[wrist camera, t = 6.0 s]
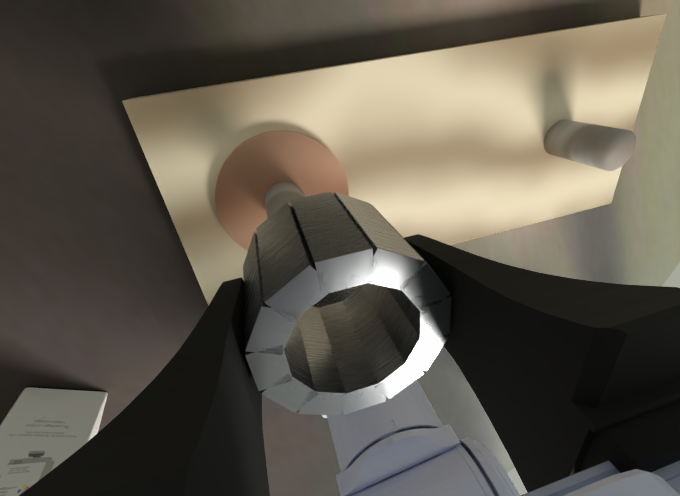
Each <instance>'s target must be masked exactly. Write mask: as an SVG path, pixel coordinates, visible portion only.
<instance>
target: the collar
mask: <svg viewBox="0 0 680 496" xmlns="http://www.w3.org/2000/svg"><path fill="white" fill-rule="evenodd" d="M291 204H292V206H291V205H290V204H289V203H288V202H286V203H285V204H284V205H283V206H282V207H280V208H279V209H278V210H277V211H276V212H275V213H273V214H272V215H271V216H270V217H269V218H268V219H266V220H265V221H264V222H263V223H262V224H261V225H259V226H258V227H257V228H256V230H257V232H256V231H254V234H253V237H252V240H251V243H250V246H249V249H248V252H247V255H246V258H245V261H244V264H243V282H244V328H245V356H246V359H247V361H248V364H249V367H250V369H251V372H252V375H253V377H254V380H255V383H256V385H257V388H258V391H261V394H262V395H264V396H266V397H268V398H269V399H271V400H273V401H275V402H276V403H278V404H280V405H282V406H283V407H285V408H287V409H289V410H290V411H292V412H294V413H295V412H296V411H298V414H314V415H341V413H342V411H343V413H344V415H345V414H348V413H351V412H355V411H358V410H361V409H364V408H367V407H370V406H373V405H376V404H379V403H382V402H385V401H386V397H387V398H388V399H391V398H392V397H393V396H395V395H396V394H398V393H399V392H400V391H402V390H403V389H404V388H406V387H407V386H408V385H410V384H411V383H412V382H414V381H415V380H416V379H418V378H419V377H421V376H422V375H423V374H424V372H423V371H427V370H428V368H429V367H430V365H431V364H432V362H433V361H434V359H435V357H436V356H437V354H438V353H439V351H440V350H441V348H442V346H443V345H444V343H445V342H446V340H447V339H448V336H447V334H450V318H451V299H452V297H451V296H450V294H451V293H450V292H449V291H448V289H447V288H446V287H445V285H444V284H443V283H442V281H441V280H440V279H439V277H438V276H437V275H436V273H435V272H434V271H433V269H432V268H431V267H430V265H429V264H428V263H427V262H426V261H425V260H424V259H423V258H422V256H421V255H420V254H419V253H418V252H417V251H416V250H415V249H414V248H413V247H412V246H411V245H410V244H409V243H408V242H407V241H406V240H405V239H404V238H403V237H402V236H401V234H400V233H399V232H398V231H397V230H396V229H395V228H394V227H393V226H392V225H391V224H390V223H389V222H388V221H387V220H386V219H385V218H384V217H383V216H382V215H381V214H380V213H379V211H378V210H377V209H376V208H375V207H374V206H373V205H371V204H370V203H368V202H365V201H362V200H359V199H356V198H353V197H350V196H347V195H344V194H341V193H337V192H334V194H332V192H331V191H330V192H326V193H321V194H316V195H311V196H307V197H302V198H297V199H293V200H291ZM358 285H362V286H361V287H359V288H358V289H357V290H356V291H354V292H353V293H352V294H351V295H349V296H348V297H347V298H346V299H344V300H343V301H341V302H337V303H334V304H330V305H326V306H322V307H319V308H317V307H312V306H314V305H315V304H316V303H317V302H319V301H320V300H321V299H322V298H324V297H325V296H326V295H327V294H328V293H332V292H336V291H339V290H343V289H347V288H351V287H355V286H358ZM422 370H423V371H422Z"/></svg>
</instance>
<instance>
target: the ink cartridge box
mask: <svg viewBox="0 0 680 496" xmlns="http://www.w3.org/2000/svg"><path fill="white" fill-rule="evenodd" d="M107 394H108V393H107V392H99V391H82V390H64V389H49V388H33V387H28V388H25V389H24V390H23V392H22V393H21V394H20V396H19V397H18V399H17V401H16V402H15V404H14V405H13V407H12V408H11V410H10V411H9V413H8V414H7V416H6V417H5V419H4V420H3V422H2V424H1V425H0V496H19V495H20V494H22V493H23V492H24V491H26V490H27V489H28V488H30V487H31V486H32V485H34V484H35V483H36V482H38V481H39V480H40V479H41V478H43V477H44V476H45V475H47V474H48V473H49V472H50V471H52V470H53V469H54V468H56V467H57V466H58V465H59V464H61V463H62V462H63V461H65V460H66V459H67V458H68V457H70V456H71V455H72V454H74V453H75V452H76V451H77V450H78V449H80V448H81V447H82V446H83V445H85V444H86V443H87V442H88V441H89V440H90V439H92V438H93V437H94V436H95V435H96V434H97V433H98V430H99V426H100V422H101V418H102V414H103V410H104V406H105V402H106V399H107Z"/></svg>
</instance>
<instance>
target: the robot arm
mask: <svg viewBox="0 0 680 496" xmlns="http://www.w3.org/2000/svg"><path fill="white" fill-rule="evenodd" d="M404 239H405V240H406V241H407V242H408V243H409V244H410V245H411V246H412V247H413V248H414V249H415V250H416V251H417V252H418V253H419V254H420V255H421V256H422V258H423V259H424V260H425V261H426V262H427V263H428V264H429V265H430V267H431V268H432V269H433V271H434V272H435V273H436V275H437V276H438V277H439V279H440V280H441V281H442V283H443V284H444V285H445V287H446V288H447V289H448V291H449V292H450V293H451V294H450V296H451V297H452V299H451V318H450V334H447V336H448V339H447V340H446V342H445V343H444V347H445V348H446V349H447V351H448V352H449V353H450V355H451V356H452V357H453V359H454V360H455V362H456V363H457V365H458V366H459V368H460V369H461V371H462V372H463V374H464V376H465V377H466V379H467V381H468V382H469V384H470V386H471V387H472V389H473V391H474V392H475V394H476V396H477V398H478V399H479V401H480V403H481V405H482V406H483V408H484V410H485V412H486V414H487V415H488V417H489V419H490V421H491V422H492V424H493V426H494V428H495V430H496V432H497V434H498V435H499V437H500V439H501V441H502V443H503V445H504V447H505V449H506V450H507V452H508V454H509V456H510V458H511V460H512V462H513V464H514V466H515V468H516V470H517V472H518V474H519V476H520V478H521V480H522V482H523V484H524V486H525V488H526V490H527V492H528V493H526V494H524V495H521V496H680V288H677V287H658V286H639V285H622V284H612V283H602V282H593V281H585V280H578V279H571V278H565V277H559V276H553V275H548V274H543V273H538V272H533V271H529V270H525V269H521V268H517V267H513V266H509V265H505V264H502V263H499V262H495V261H492V260H489V259H486V258H483V257H480V256H477V255H474V254H471V253H469V252H466V251H463V250H460V249H458V248H455V247H452V246H450V245H447V244H445V243H442V242H440V241H437V240H434V239H432V238H429V237H426V236H423V235H419V234H417V235H413V236H408V237H404ZM322 417H324V418H328V422H329V426H330V430H331V434H332V438H333V442H334V446H335V450H336V454H337V458H338V462H339V466H340V470H341V473H339V474H337V475H336V479H337V483H338V487H339V492H340V495H338V496H520V495H519V493H518V491H517V489H516V488H515V486H514V484H513V483H512V481H511V479H510V478H509V476H508V475H507V473H506V472H505V470H504V469H503V467H502V466H501V464H500V463H499V461H498V460H497V459H496V458H495V456H494V455H493V454H492V453H491V451H490V450H489V449H488V448H487V447H486V446H484V445H483V444H481V443H479V442H477V441H475V440H474V439H472V438H470V437H465V438H463V439H461V440H458V438H457V436H456V435H455V433H454V431H453V429H452V428H451V426H450V425H449V424H447V425H445V426H443V425H442V423H441V421H440V420H439V418H438V416H437V414H436V412H435V411H434V409H433V407H432V405H431V404H430V402H429V400H428V398H427V397H426V395H425V393H424V391H423V390H422V388H421V386H420V384H419V382H418V381H417V379H416V380H415V381H414V382H412V383H411V384H410V385H408V386H407V387H406V388H404V389H403V390H402V391H400V392H399V393H398V394H396V395H395V396H393V397H392V398H391V399H388V398H387V397H386V401H385V402H382V403H379V404H376V405H373V406H370V407H367V408H364V409H361V410H358V411H355V412H351V413H348V414H345V415H344V413H343V411H342V413H341V415H322ZM19 496H270V494H269V485H268V476H267V468H266V459H265V450H264V440H263V431H262V394H261V391H258V388H257V385H256V383H255V380H254V377H253V375H252V372H251V369H250V367H249V364H248V361H247V359H246V356H245V328H244V282H243V279H242V277H241V278H237V279H233V280H229V281H225V282H222V284H221V285H220V287H219V289H218V290H217V292H216V294H215V296H214V297H213V299H212V301H211V302H210V304H209V306H208V308H207V309H206V311H205V312H204V314H203V316H202V317H201V319H200V320H199V322H198V324H197V325H196V327H195V328H194V330H193V331H192V333H191V334H190V335H189V337H188V338H187V340H186V341H185V342H184V344H183V345H182V347H181V348H180V349H179V351H178V352H177V353H176V354H175V356H174V357H173V358H172V359H171V361H170V362H169V363H168V364H167V365H166V366H165V367H164V369H163V370H162V371H161V372H160V373H159V374H158V376H157V377H156V378H155V379H154V380H153V381H152V382H151V383H150V384H149V385H148V386H147V387H146V388H145V389H144V390H143V391H142V392H141V393H140V394H139V395H138V396H137V397H136V398H135V399H134V400H133V401H132V402H131V403H130V404H129V405H128V406H127V407H126V408H125V409H124V410H123V411H122V412H121V413H120V414H119V415H118V416H117V417H115V418H114V419H113V420H112V421H111V422H110V423H109V424H108V425H107V426H105V427H104V428H103V429H102V430H101V431H100V432H99V433H97V434H96V435H95V436H94V437H93V438H92V439H90V440H89V441H88V442H87V443H86V444H85V445H83V446H82V447H81V448H80V449H78V450H77V451H76V452H75V453H74V454H72V455H71V456H70V457H68V458H67V459H66V460H65V461H63V462H62V463H61V464H59V465H58V466H57V467H56V468H54V469H53V470H52V471H50V472H49V473H48V474H47V475H45V476H44V477H43V478H41V479H40V480H39V481H38V482H36V483H35V484H34V485H32V486H31V487H30V488H28V489H27V490H26V491H24V492H23V493H22V494H20V495H19Z"/></svg>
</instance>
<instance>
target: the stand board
mask: <svg viewBox="0 0 680 496" xmlns="http://www.w3.org/2000/svg"><path fill="white" fill-rule="evenodd" d="M666 15H667V14H660V15H651V16H643V17H636V18H630V19H624V20H618V21H611V22H605V23H599V24H592V25H586V26H580V27H574V28H567V29H561V30H555V31H549V32H542V33H536V34H530V35H524V36H517V37H511V38H505V39H498V40H492V41H486V42H480V43H473V44H467V45H461V46H455V47H448V48H442V49H436V50H430V51H423V52H417V53H411V54H405V55H398V56H392V57H386V58H379V59H373V60H367V61H361V62H354V63H348V64H342V65H336V66H329V67H323V68H317V69H311V70H304V71H298V72H292V73H286V74H279V75H273V76H267V77H260V78H254V79H248V80H242V81H235V82H229V83H223V84H217V85H210V86H204V87H198V88H192V89H185V90H179V91H173V92H167V93H160V94H154V95H148V96H141V97H135V98H130V99H127V100H123V101H122V102H123V105H124V107H125V109H126V112H127V114H128V117H129V119H130V121H131V124H132V126H133V128H134V131H135V133H136V135H137V138H138V140H139V143H140V145H141V147H142V150H143V152H144V154H145V157H146V159H147V162H148V164H149V166H150V169H151V171H152V173H153V176H154V178H155V180H156V183H157V185H158V188H159V190H160V192H161V195H162V197H163V199H164V202H165V204H166V207H167V209H168V211H169V214H170V216H171V218H172V221H173V223H174V225H175V228H176V230H177V233H178V235H179V237H180V240H181V242H182V244H183V247H184V249H185V252H186V254H187V256H188V259H189V261H190V263H191V266H192V268H193V271H194V273H195V275H196V278H197V280H198V282H199V285H200V287H201V289H202V292H203V294H204V297H205V299H206V301H207V304H208V306H209V304H210V302H211V301H212V299H213V297H214V296H215V294H216V292H217V290H218V289H219V287H220V285H221V284H222V282H225V281H229V280H233V279H237V278H241V277H242V279H243V264H244V261H245V258H246V255H247V252H248V249H249V246H250V243H251V240H252V237H253V234H254V231H256V232H257V230H256V228H257V227H258V226H259V225H261V224H262V223H263V222H264V221H265V220H266V219H268V218H269V217H270V216H271V215H272V214H273V213H275V212H276V211H277V210H278V209H279V208H280V207H282V206H283V205H284V204H285V203H286V202H288V203H289V204H290V205H291V206H292V204H291V200H293V199H297V198H302V197H307V196H311V195H316V194H321V193H326V192H330V191H331V192H332V194H334V192H337V193H341V194H344V195H347V196H350V197H353V198H356V199H359V200H362V201H365V202H368V203H370V204H371V205H373V206H374V207H375V208H376V209H377V210H378V211H379V213H380V214H381V215H382V216H383V217H384V218H385V219H386V220H387V221H388V222H389V223H390V224H391V225H392V226H393V227H394V228H395V229H396V230H397V231H398V232H399V233H400V234H401V236H402V237H403V238H404V237H408V236H413V235H417V234H419V235H423V236H426V237H429V238H432V239H434V240H437V241H440V242H442V243H445V244H447V245H453V244H457V243H461V242H465V241H469V240H472V239H476V238H480V237H484V236H488V235H492V234H495V233H499V232H503V231H507V230H511V229H514V228H518V227H522V226H526V225H530V224H534V223H537V222H541V221H545V220H549V219H553V218H556V217H560V216H564V215H568V214H572V213H576V212H579V211H583V210H587V209H591V208H595V207H598V206H602V205H606V204H610V203H611V202H612V199H613V195H614V192H615V188H616V185H617V182H618V178H619V175H620V171H621V168H622V165H623V164H624V163H625V162H626V161H627V160H628V159H629V158H630V156H631V154H632V153H633V150H634V148H635V144H636V137H635V134H634V133H633V132H632V130H633V127H634V124H635V120H636V117H637V113H638V110H639V107H640V103H641V100H642V96H643V93H644V90H645V86H646V83H647V79H648V76H649V73H650V69H651V66H652V62H653V59H654V56H655V52H656V49H657V45H658V42H659V39H660V35H661V32H662V28H663V25H664V22H665V18H666Z"/></svg>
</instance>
